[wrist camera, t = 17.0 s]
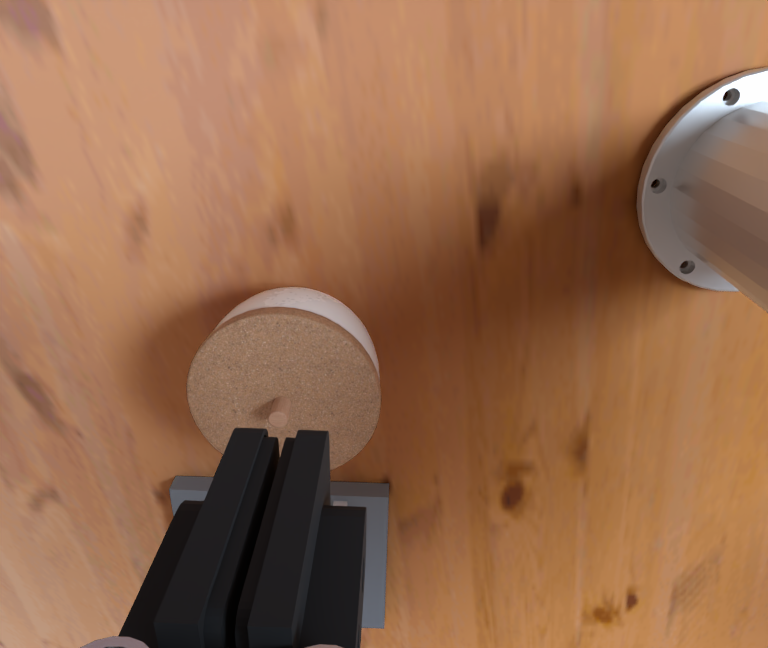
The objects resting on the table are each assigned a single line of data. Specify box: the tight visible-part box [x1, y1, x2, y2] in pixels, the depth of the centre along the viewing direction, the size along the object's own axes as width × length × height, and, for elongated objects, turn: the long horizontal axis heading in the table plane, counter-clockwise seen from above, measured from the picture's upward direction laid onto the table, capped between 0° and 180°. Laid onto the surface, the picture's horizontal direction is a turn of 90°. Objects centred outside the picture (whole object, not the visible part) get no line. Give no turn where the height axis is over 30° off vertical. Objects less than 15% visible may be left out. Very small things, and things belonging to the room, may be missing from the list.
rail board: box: [169, 476, 389, 629], centre depth 48 cm, size 16×14×3 cm
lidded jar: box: [186, 287, 381, 471], centre depth 36 cm, size 11×11×9 cm
